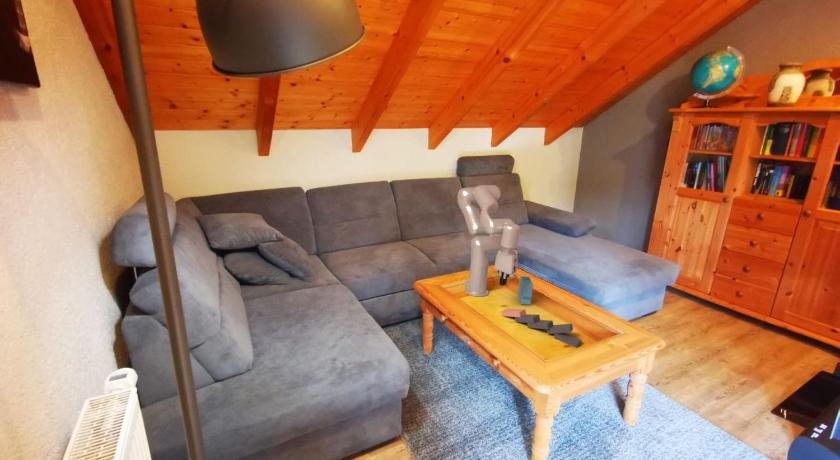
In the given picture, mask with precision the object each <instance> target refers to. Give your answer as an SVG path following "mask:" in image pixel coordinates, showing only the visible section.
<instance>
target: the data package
mask: <svg viewBox="0 0 840 460" xmlns="http://www.w3.org/2000/svg"><path fill="white" fill-rule="evenodd" d="M518 281H519V282H518V289H517V297H518V300H519V302H520V305H527V306H530V305H531V302H532V296H533V288H534V283H533V282H532V280H531V278H530V276H527V275H526V276H525V275H520V276H519V280H518Z"/></svg>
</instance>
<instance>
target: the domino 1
mask: <svg viewBox="0 0 840 460" xmlns="http://www.w3.org/2000/svg"><path fill="white" fill-rule="evenodd" d="M501 314H502V317H509V318H510V317H514V318H515V317H522V316H524V315H526V314H527V311H526V309H525V308H506V309H504V310H501Z"/></svg>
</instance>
